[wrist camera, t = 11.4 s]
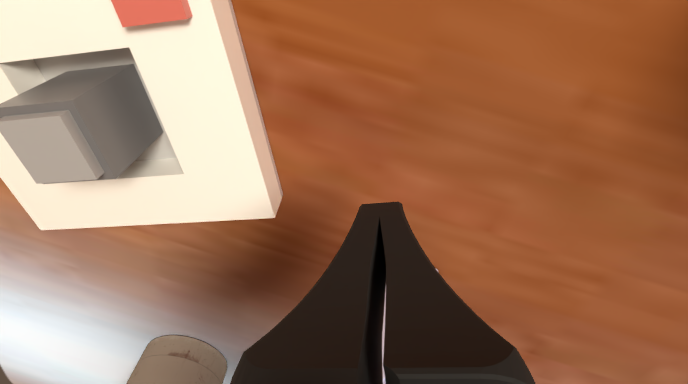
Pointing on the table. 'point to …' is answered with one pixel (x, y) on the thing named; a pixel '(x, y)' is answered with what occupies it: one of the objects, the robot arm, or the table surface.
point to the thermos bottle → (179, 362)
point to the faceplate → (167, 101)
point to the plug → (81, 125)
